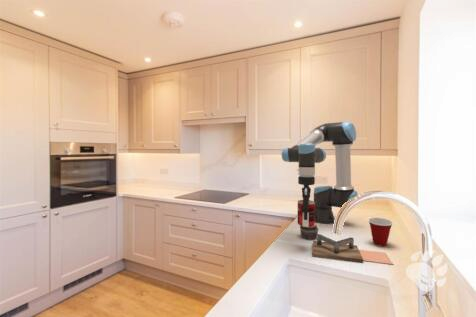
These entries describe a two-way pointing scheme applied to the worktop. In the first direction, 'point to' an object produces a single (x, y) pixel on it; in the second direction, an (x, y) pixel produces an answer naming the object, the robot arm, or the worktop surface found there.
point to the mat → (375, 257)
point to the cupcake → (309, 232)
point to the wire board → (342, 252)
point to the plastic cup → (380, 230)
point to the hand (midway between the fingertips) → (305, 223)
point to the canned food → (311, 213)
